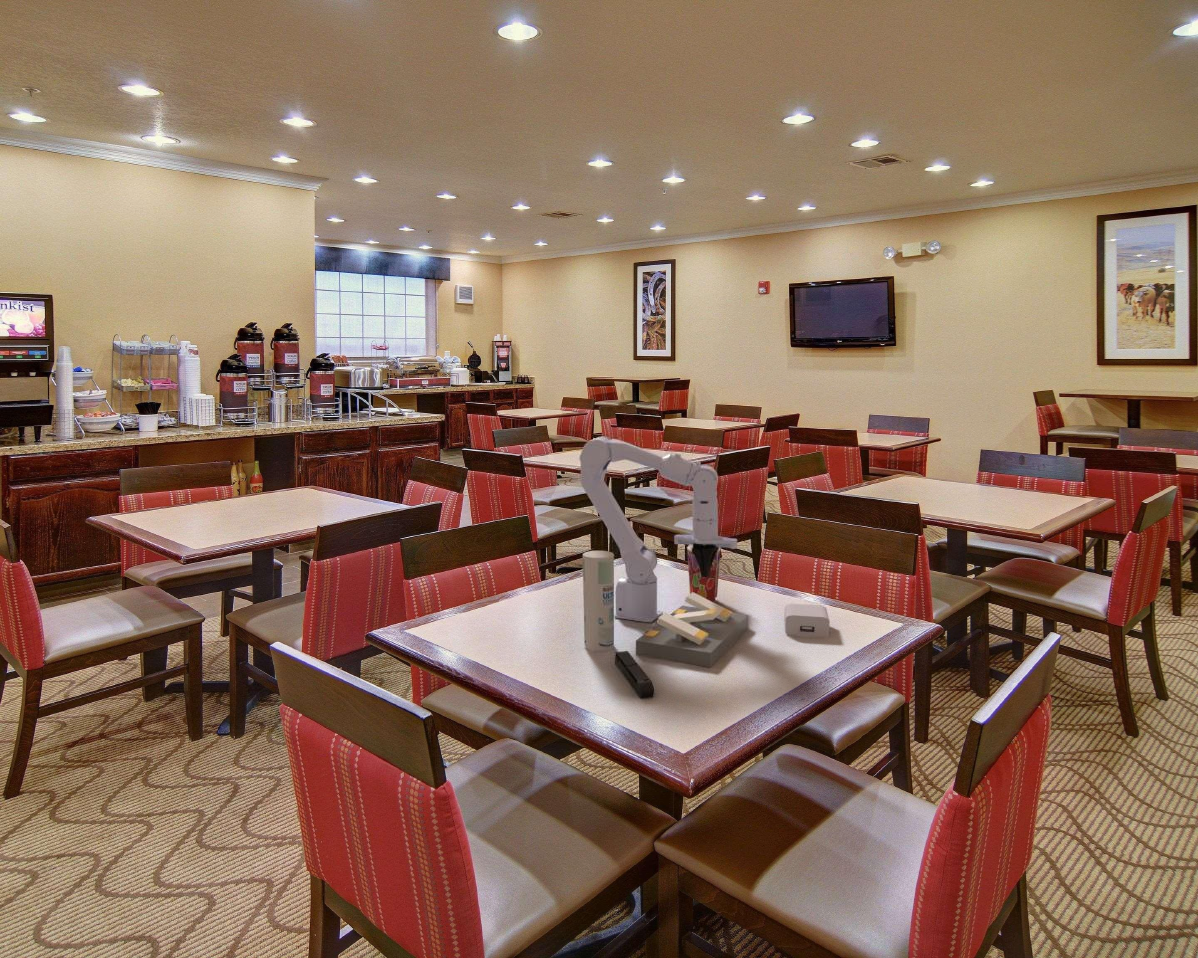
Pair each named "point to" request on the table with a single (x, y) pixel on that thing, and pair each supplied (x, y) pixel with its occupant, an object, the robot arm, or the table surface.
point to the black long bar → (634, 674)
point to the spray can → (598, 600)
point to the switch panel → (683, 650)
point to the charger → (806, 620)
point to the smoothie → (701, 584)
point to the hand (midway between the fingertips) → (705, 576)
